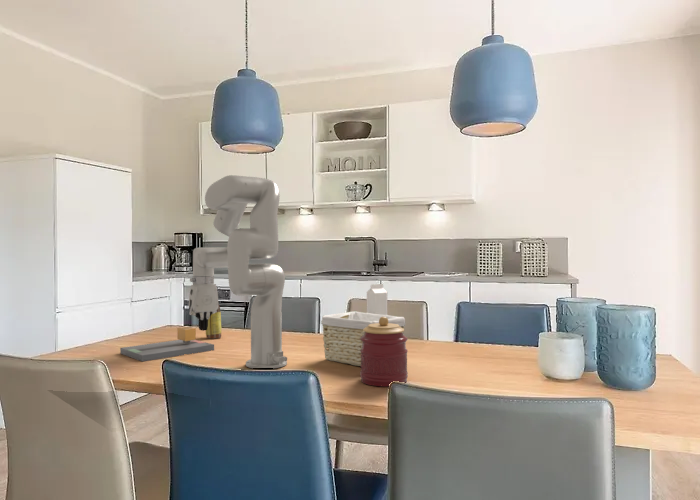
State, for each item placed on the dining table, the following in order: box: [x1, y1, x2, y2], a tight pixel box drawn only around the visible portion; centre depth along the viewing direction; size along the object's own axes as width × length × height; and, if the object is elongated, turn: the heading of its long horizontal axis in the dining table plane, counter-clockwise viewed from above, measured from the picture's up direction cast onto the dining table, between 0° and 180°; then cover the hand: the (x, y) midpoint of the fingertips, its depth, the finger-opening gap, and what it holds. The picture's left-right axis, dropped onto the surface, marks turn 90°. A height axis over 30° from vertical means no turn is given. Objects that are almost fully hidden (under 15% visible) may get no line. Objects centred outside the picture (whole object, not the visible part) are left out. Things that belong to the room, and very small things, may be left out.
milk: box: [366, 283, 388, 315], centre depth 206 cm, size 6×6×22 cm
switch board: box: [119, 339, 215, 363], centre depth 183 cm, size 18×26×2 cm
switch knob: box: [176, 326, 197, 343], centre depth 188 cm, size 6×4×5 cm, turn 45°
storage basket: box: [320, 310, 406, 367], centre depth 167 cm, size 24×16×15 cm
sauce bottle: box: [205, 302, 222, 340], centre depth 211 cm, size 6×6×20 cm
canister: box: [359, 317, 409, 387], centre depth 142 cm, size 13×13×18 cm
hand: (203, 329), depth 193 cm, fingers closed
